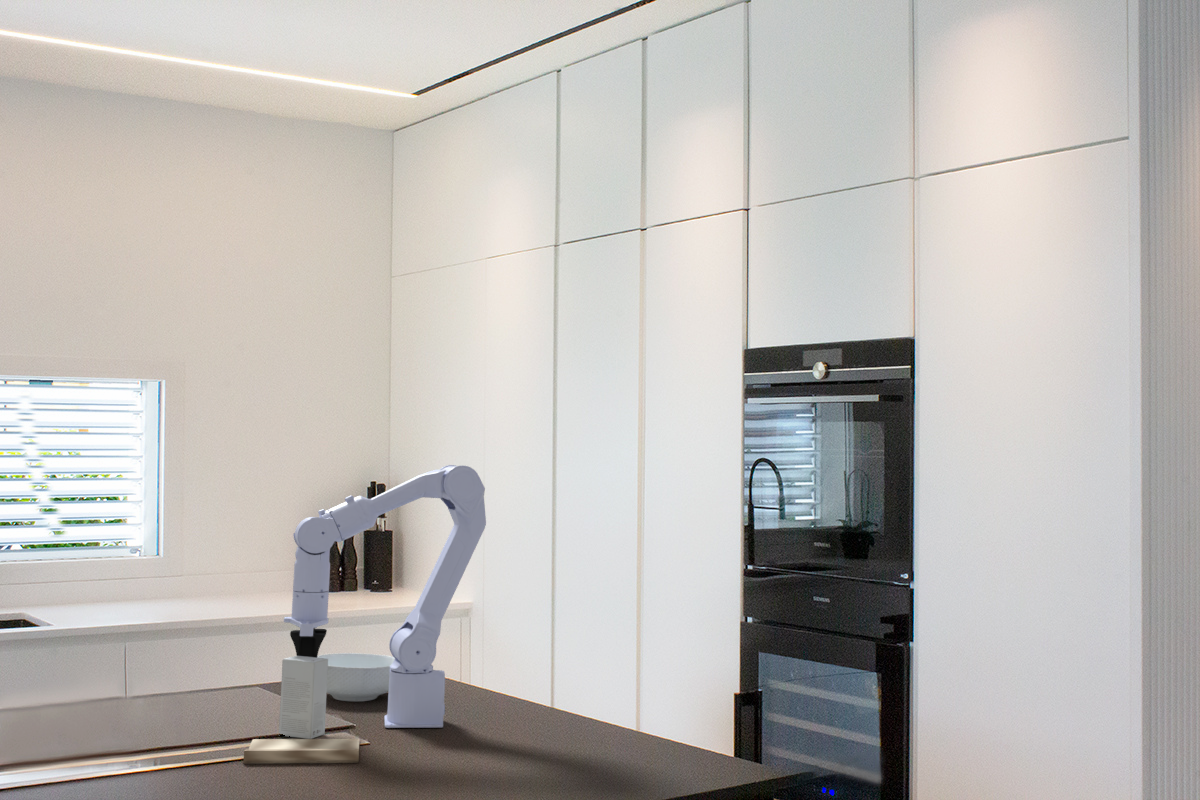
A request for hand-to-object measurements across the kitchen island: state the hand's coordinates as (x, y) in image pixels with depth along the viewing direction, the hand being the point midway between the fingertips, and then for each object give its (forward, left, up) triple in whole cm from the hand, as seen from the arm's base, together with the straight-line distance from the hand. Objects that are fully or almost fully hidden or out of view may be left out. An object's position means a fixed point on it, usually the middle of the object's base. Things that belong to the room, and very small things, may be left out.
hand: (306, 675), depth 188 cm
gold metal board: (-1, +16, -8) cm, 18 cm away
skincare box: (0, +5, -9) cm, 10 cm away
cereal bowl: (-8, -25, -9) cm, 27 cm away
